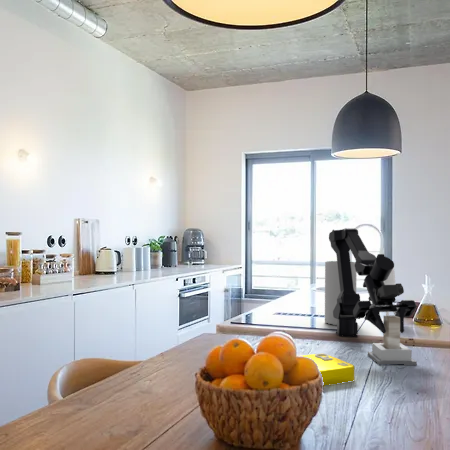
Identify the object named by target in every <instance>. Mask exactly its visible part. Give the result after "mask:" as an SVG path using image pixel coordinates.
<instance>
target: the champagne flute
mask: <svg viewBox="0 0 450 450" xmlns="http://www.w3.org/2000/svg"><path fill="white" fill-rule="evenodd" d="M384 284H385V285H395V284H396V275H395V267H394V268H393V269H392V271H391V273H390V275H389V277H388V279H387V280H385V281H384ZM389 314H390V312H385V316H390V315H389ZM381 319H382V322H383V323H384V317H382V318H381Z"/></svg>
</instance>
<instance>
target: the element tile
mask: <svg viewBox="0 0 450 450" xmlns="http://www.w3.org/2000/svg"><path fill="white" fill-rule="evenodd" d="M301 356H303V357H308V358H311V359H312V360H314V362H315V363H316V364H317V366H318V369H319V371H320V372H321V374H322V377H323V382H324V386H323V387H326V386H325V385H329V384H336V385H338V384H337V383H342V382H348V381H353V380H354V381H355V376H356V375H355V374H356V373H355V371H356V370H355V365H354V364H352V363H350V362H347V361H344V360H342V359H339V358H337V357H334V356H332V355H330V354H327V353H323V352H321V353H314V354H313V353H312V354H303V355H301ZM354 381H353V382H354ZM342 384H343V383H342ZM329 386H330V385H329Z"/></svg>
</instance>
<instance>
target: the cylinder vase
mask: <svg viewBox="0 0 450 450" xmlns="http://www.w3.org/2000/svg"><path fill="white" fill-rule="evenodd" d="M350 262H351V271H352V279H353V288H354V291H355V292H356V293H357V274H358V273H357V272H356V270H355V262H356V261H350ZM324 263H325V264H324V269H325V270H324V322H325V323H326V324H327V323H328V325H330V324H333V325H332V326H336V325H337V319H336V318H334V316H333V310H334V308H335V306H336V304H337V298H338V296H339V294H340V282H339V273H338V264H337V260H329V261H328V260H327V261H324Z"/></svg>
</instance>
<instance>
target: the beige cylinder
mask: <svg viewBox="0 0 450 450" xmlns="http://www.w3.org/2000/svg"><path fill="white" fill-rule="evenodd" d="M383 318H384V322H383V324H384V327H385V330H386V332H385V333H382V334H383V337H382V339H383V341H382V343H383V347H384V348H385V349H400V343H401V332H400V317H397V316H395V315H394V314H393V315H389V316H386V315H383Z"/></svg>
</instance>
